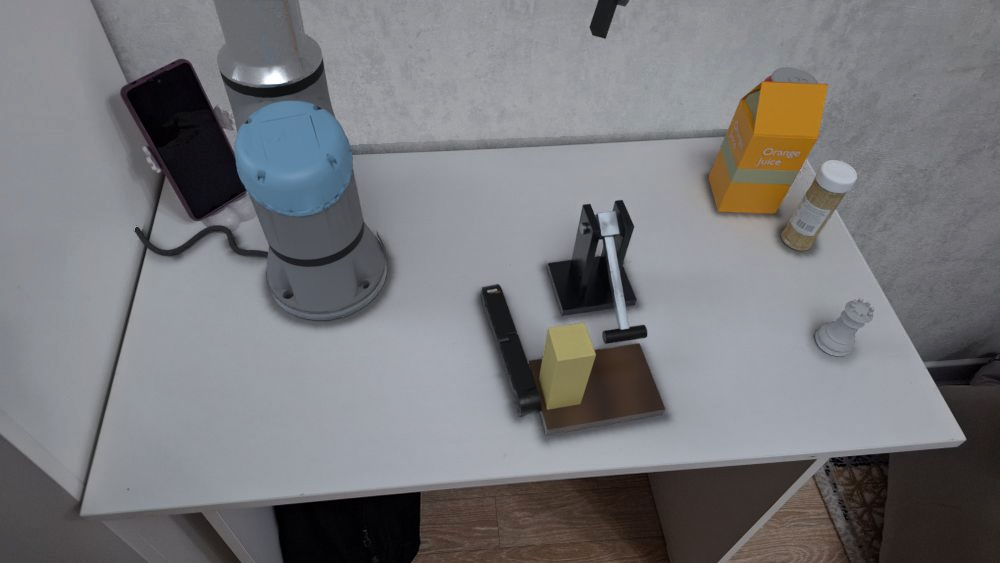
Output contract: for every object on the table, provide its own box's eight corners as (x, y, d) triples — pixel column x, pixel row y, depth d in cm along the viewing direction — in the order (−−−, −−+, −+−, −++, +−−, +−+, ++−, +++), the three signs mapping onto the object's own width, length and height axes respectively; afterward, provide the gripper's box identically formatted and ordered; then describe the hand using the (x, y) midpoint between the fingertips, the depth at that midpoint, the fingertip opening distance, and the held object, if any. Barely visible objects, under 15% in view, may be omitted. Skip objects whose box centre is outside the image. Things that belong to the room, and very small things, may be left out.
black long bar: (541, 415, 71) (543, 403, 69) (519, 420, 71) (521, 408, 68) (498, 293, 81) (499, 279, 79) (479, 297, 81) (480, 283, 79)
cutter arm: (642, 338, 73) (650, 337, 71) (602, 344, 72) (608, 343, 70) (620, 214, 75) (626, 209, 73) (580, 219, 74) (586, 214, 72)
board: (545, 435, 70) (547, 430, 68) (527, 366, 75) (528, 360, 74) (662, 415, 72) (665, 409, 71) (636, 349, 77) (639, 343, 76)
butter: (546, 410, 70) (557, 361, 61) (538, 379, 72) (547, 327, 64) (580, 404, 71) (596, 354, 62) (571, 373, 73) (585, 322, 64)
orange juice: (775, 214, 92) (839, 102, 76) (717, 212, 92) (768, 99, 76) (763, 178, 97) (820, 65, 81) (707, 176, 97) (753, 63, 81)
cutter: (635, 305, 81) (660, 235, 70) (561, 316, 80) (576, 246, 69) (616, 258, 86) (637, 186, 75) (546, 268, 84) (558, 195, 73)
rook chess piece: (812, 350, 78) (842, 315, 72) (814, 323, 80) (844, 286, 74) (848, 363, 77) (882, 328, 71) (850, 335, 80) (883, 299, 73)
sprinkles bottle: (818, 243, 89) (866, 174, 78) (797, 256, 87) (843, 187, 77) (793, 223, 91) (836, 153, 81) (773, 236, 90) (814, 166, 79)
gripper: (741, -174, 62) (659, 59, 66) (617, -196, 65) (545, 28, 69) (751, -227, 55) (658, 38, 59) (611, -250, 58) (531, 5, 61)
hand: (597, 33), depth 64 cm, fingers closed
